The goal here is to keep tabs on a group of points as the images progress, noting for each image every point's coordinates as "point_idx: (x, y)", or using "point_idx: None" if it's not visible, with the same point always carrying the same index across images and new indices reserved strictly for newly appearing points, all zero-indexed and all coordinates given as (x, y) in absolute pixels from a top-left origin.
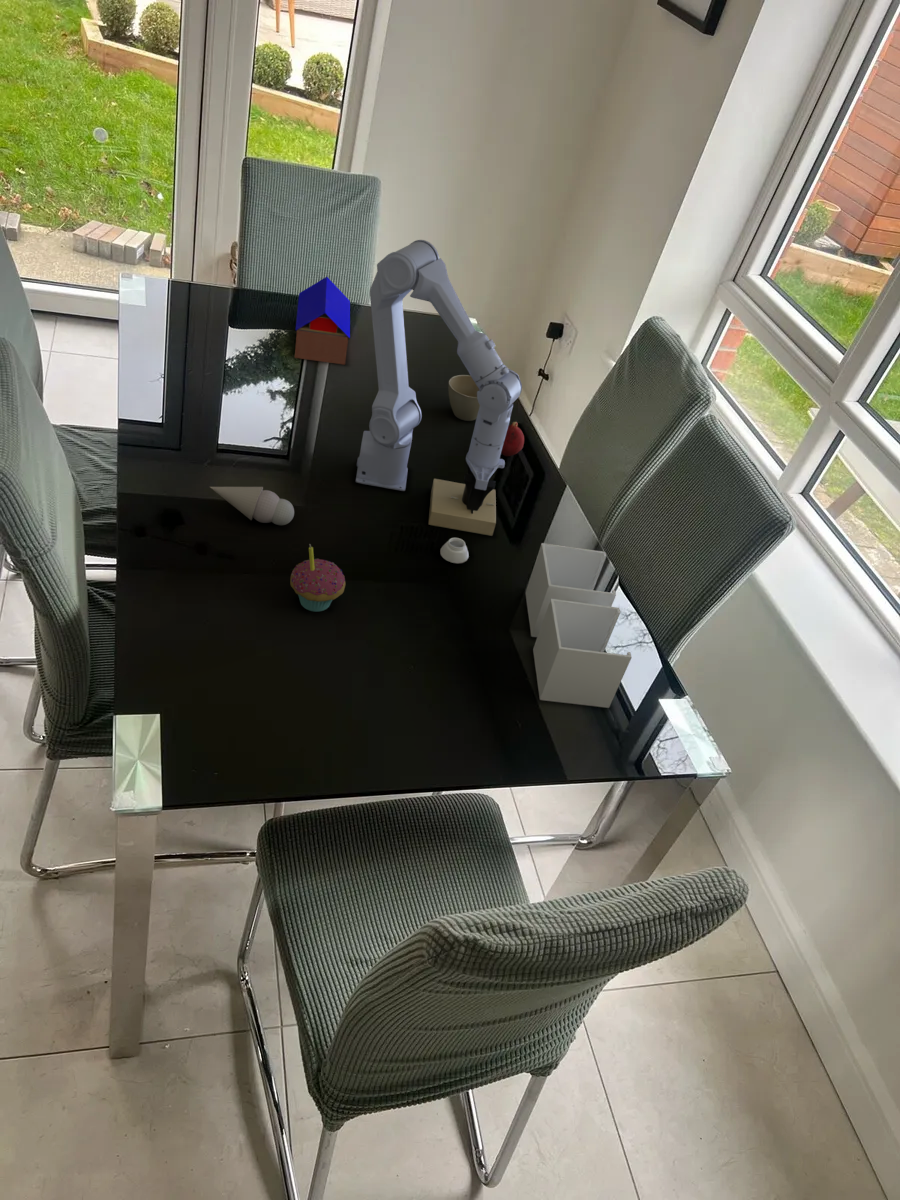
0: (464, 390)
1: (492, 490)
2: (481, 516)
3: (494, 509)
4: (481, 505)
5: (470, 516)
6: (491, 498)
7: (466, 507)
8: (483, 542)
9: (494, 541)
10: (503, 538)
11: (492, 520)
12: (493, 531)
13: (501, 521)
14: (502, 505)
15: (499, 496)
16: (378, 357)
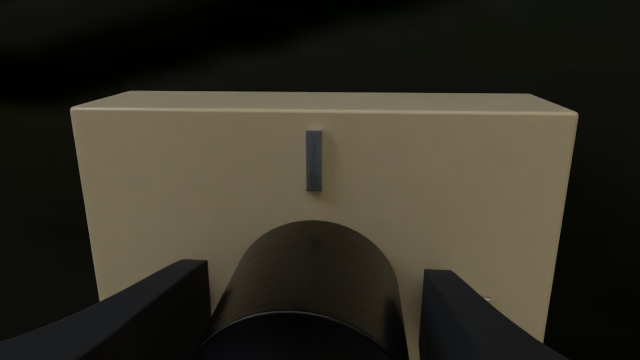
0: None
1: (94, 134)
2: (502, 231)
3: (372, 121)
4: (358, 234)
5: (520, 312)
6: (214, 144)
7: (407, 337)
8: (614, 155)
9: (592, 77)
10: (544, 8)
11: (545, 142)
12: (543, 99)
13: (334, 22)
14: (133, 13)
15: (33, 35)
16: None
